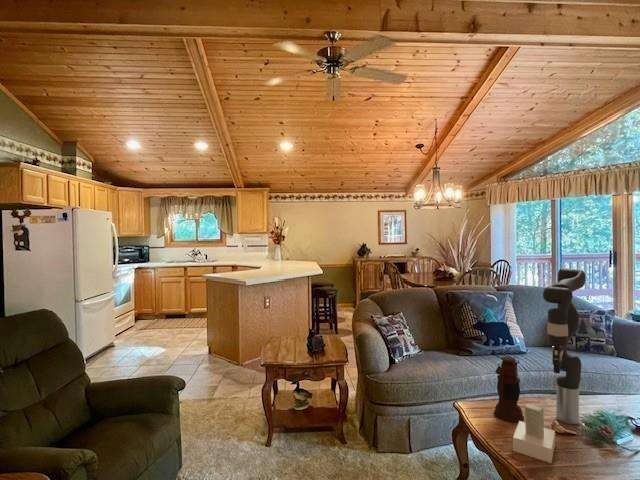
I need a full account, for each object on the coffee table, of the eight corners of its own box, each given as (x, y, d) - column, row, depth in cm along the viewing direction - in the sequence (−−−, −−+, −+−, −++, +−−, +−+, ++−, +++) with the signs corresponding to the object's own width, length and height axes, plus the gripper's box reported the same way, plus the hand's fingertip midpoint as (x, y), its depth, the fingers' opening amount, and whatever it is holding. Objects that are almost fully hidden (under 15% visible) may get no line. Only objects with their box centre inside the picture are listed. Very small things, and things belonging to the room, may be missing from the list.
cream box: (519, 433, 167) (519, 420, 167) (555, 444, 159) (555, 430, 159) (513, 450, 155) (512, 437, 155) (551, 463, 146) (551, 448, 146)
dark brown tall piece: (513, 427, 172) (512, 366, 171) (486, 415, 184) (485, 357, 183) (531, 416, 182) (531, 358, 181) (504, 405, 193) (504, 350, 192)
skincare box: (544, 435, 155) (544, 407, 155) (540, 439, 153) (540, 411, 152) (528, 429, 160) (528, 402, 160) (524, 433, 157) (524, 405, 157)
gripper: (549, 327, 164) (549, 362, 164) (545, 335, 152) (545, 373, 153) (569, 330, 159) (569, 366, 159) (566, 338, 148) (566, 377, 148)
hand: (557, 369), depth 156 cm, fingers open, 8 cm apart
